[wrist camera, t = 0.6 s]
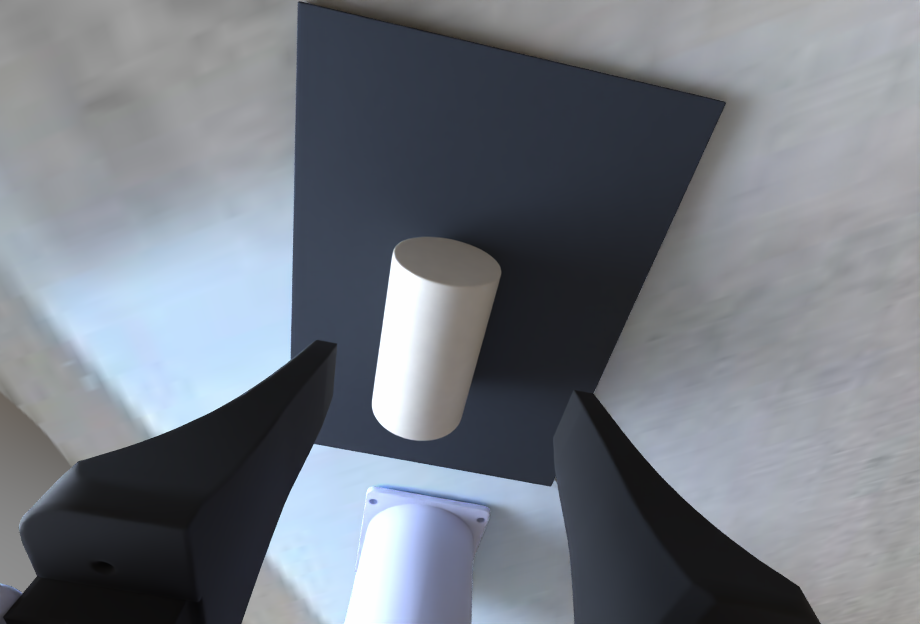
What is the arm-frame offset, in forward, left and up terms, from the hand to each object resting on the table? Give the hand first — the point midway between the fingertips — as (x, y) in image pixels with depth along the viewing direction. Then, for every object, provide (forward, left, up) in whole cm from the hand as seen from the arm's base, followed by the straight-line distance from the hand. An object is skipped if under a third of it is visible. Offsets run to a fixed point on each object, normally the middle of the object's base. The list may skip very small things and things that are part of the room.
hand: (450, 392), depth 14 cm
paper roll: (-3, +1, -8) cm, 9 cm away
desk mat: (-2, 0, -9) cm, 9 cm away
